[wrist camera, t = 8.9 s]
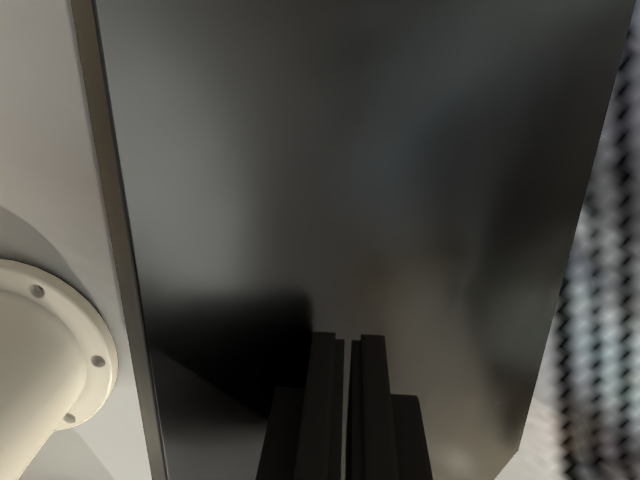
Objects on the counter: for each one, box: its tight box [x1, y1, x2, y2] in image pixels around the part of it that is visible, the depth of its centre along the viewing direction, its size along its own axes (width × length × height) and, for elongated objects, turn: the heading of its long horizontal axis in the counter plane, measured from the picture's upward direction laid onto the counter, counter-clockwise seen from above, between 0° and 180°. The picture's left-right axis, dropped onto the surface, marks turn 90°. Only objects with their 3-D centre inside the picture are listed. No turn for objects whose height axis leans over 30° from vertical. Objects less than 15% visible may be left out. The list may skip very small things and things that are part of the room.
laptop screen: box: [71, 0, 636, 480], centre depth 16 cm, size 21×30×1 cm
